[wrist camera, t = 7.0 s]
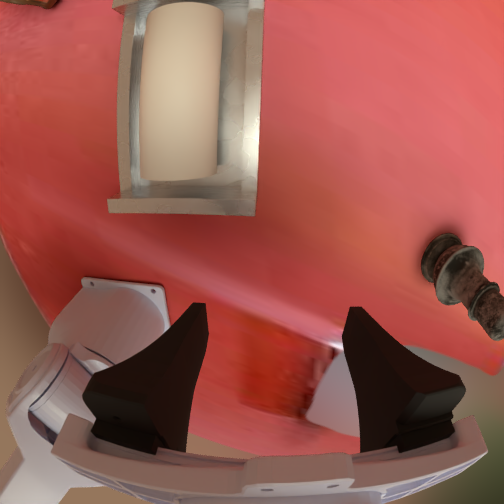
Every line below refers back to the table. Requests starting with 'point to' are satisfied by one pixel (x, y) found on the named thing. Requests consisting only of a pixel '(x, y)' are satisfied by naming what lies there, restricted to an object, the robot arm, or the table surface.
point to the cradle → (229, 118)
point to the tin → (33, 2)
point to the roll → (180, 92)
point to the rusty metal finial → (464, 282)
